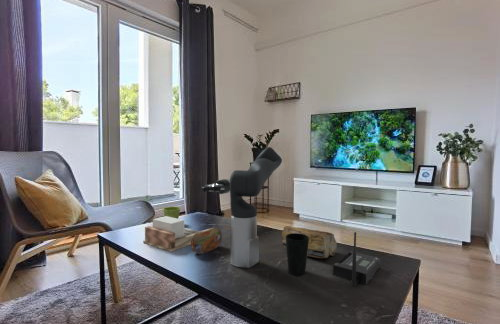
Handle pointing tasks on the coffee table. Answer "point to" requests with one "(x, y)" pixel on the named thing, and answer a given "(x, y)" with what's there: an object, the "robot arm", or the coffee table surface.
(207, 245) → the tin
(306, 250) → the cup
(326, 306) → the coffee table surface
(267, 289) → the coffee table surface
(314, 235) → the petrified wood
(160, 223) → the white rectangular block
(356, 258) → the wireless controller
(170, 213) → the plant pot
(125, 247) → the coffee table surface
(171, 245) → the roller track
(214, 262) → the coffee table surface
